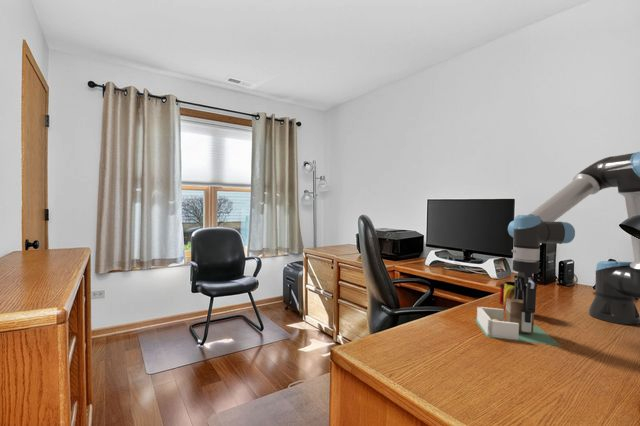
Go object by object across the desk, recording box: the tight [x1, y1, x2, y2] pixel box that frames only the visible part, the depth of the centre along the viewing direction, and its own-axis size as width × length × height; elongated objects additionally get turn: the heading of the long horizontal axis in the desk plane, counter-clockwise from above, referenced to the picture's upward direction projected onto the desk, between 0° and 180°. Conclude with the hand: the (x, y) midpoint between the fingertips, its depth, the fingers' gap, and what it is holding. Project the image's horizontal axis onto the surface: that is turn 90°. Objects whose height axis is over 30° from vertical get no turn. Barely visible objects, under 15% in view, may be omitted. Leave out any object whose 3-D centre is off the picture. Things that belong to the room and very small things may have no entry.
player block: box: [505, 298, 535, 334], centre depth 108 cm, size 7×5×10 cm, turn 76°
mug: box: [499, 281, 515, 313], centre depth 132 cm, size 10×14×12 cm
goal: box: [476, 306, 519, 341], centre depth 110 cm, size 9×16×5 cm, turn 165°
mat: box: [474, 318, 562, 347], centre depth 109 cm, size 21×18×1 cm
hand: (523, 328), depth 108 cm, fingers closed on player block, 5 cm apart
